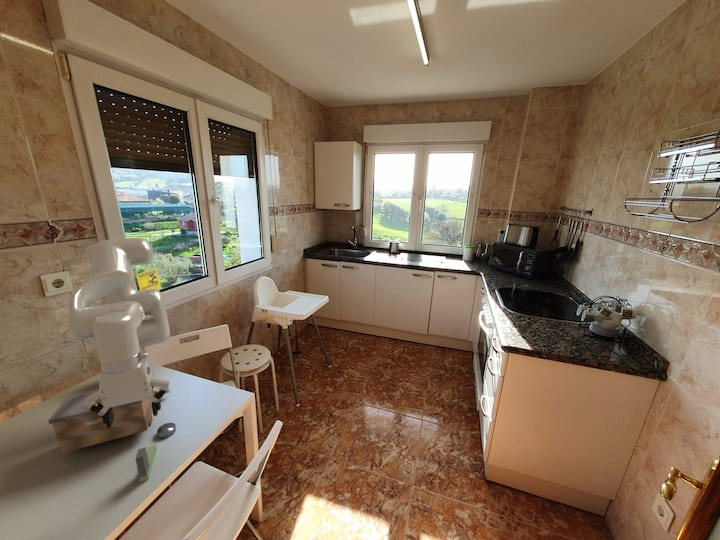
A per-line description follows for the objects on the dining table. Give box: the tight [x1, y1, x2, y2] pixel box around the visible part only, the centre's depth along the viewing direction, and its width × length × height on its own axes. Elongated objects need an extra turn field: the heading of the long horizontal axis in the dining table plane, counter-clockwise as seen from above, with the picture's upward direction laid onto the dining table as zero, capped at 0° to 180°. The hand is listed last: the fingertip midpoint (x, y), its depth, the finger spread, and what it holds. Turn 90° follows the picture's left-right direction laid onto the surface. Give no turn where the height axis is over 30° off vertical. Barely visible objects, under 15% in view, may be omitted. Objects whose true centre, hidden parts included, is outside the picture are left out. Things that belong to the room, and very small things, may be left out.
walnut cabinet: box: [47, 390, 154, 454], centre depth 86 cm, size 21×10×15 cm, turn 116°
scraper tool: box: [135, 444, 158, 483], centre depth 79 cm, size 2×10×8 cm, turn 25°
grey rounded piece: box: [156, 422, 177, 440], centre depth 91 cm, size 5×5×2 cm
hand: (134, 417), depth 73 cm, fingers open, 9 cm apart
